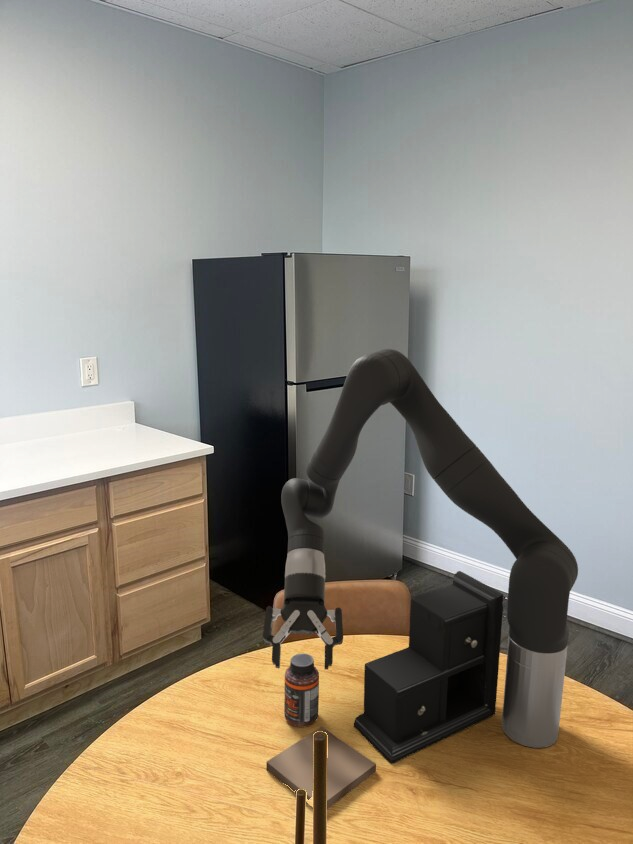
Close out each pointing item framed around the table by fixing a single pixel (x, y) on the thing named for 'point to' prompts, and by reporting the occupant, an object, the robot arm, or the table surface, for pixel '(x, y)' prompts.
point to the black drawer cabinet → (436, 671)
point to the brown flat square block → (341, 767)
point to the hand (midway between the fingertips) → (302, 668)
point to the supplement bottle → (301, 691)
